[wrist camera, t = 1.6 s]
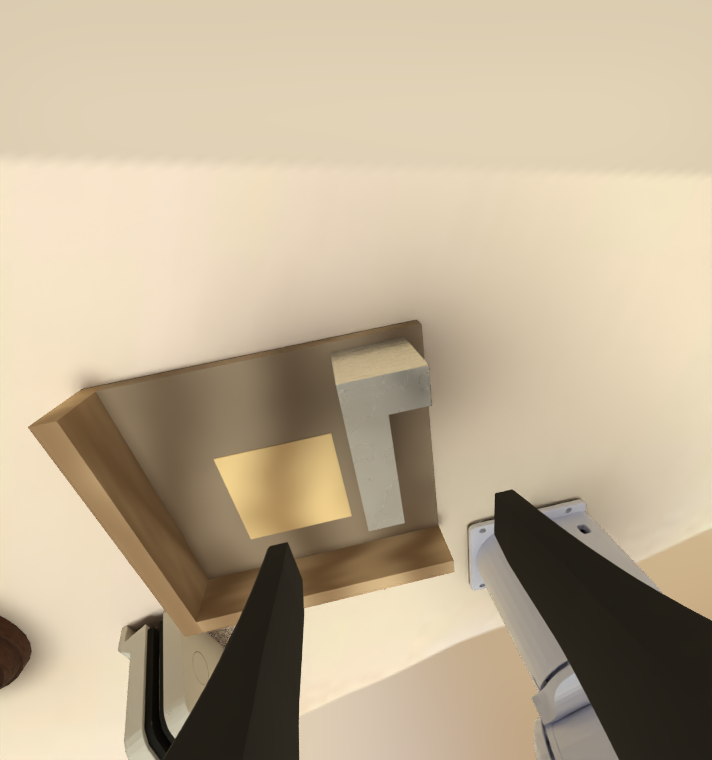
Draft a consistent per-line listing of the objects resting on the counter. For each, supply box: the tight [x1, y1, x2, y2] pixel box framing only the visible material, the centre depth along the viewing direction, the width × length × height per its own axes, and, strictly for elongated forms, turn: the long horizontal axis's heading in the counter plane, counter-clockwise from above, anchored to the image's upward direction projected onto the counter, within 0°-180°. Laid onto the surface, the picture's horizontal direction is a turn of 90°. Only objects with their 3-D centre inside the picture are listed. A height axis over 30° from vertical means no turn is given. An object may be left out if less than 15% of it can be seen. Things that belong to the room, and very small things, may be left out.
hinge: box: [118, 611, 225, 760], centre depth 25 cm, size 17×5×10 cm, turn 19°
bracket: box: [330, 337, 432, 531], centre depth 17 cm, size 9×4×4 cm, turn 10°
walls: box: [28, 385, 454, 637], centre depth 19 cm, size 18×17×4 cm
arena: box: [96, 320, 438, 579], centre depth 20 cm, size 17×16×1 cm
